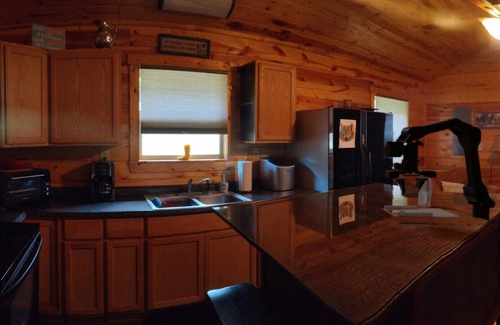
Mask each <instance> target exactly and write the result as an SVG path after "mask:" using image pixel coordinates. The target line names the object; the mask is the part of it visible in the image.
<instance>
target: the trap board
mask: <svg viewBox="0 0 500 325" xmlns="http://www.w3.org/2000/svg"><path fill="white" fill-rule="evenodd" d="M382 210H384V212H387V213H388V214H389V215H391V216H393V217H397V218H398V217H400V218H401V217H409V218H410V217H414V218H415V217H417V218H418V217H419V218H422V217H423V218H427V217H429V218H431V217H433V218H437V217H440V218H441V217H442V218H443V217H446V218H447V217H448V218H450V217H451V218H455V217H456V218H459V217H461V216H460V215H457V214H455V213H452V212H450V211H447V210H444V209H442V208H419V206H418V205H384V208H382ZM391 211H396V212H395V213H393V212H391ZM399 211H402V212H399Z"/></svg>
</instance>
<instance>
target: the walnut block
mask: <svg viewBox="0 0 500 325" xmlns="http://www.w3.org/2000/svg"><path fill="white" fill-rule="evenodd" d="M400 196H401V197H404V198H406V199H409V198H410V199H411V198H412V199H415V198H417V199H418V198H419V188H418V187H416V185H411V186H410V185H407V186H406V185H405V193H404V195H402V192H401V191H400Z"/></svg>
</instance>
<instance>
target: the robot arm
mask: <svg viewBox="0 0 500 325" xmlns="http://www.w3.org/2000/svg"><path fill="white" fill-rule="evenodd" d="M447 130H450V131H451V133H452V134H453V135H455V136H456V138H457V141H458V143H459V145H460V146H461V147H462V149H463V153H464V162H465V169H466V171H465V172H466V177H467V183H466V186H464V185H463V186H462V190H463V196H464V198H465V200H467V204H468V205H471V206H472V209H471V210H472V211H471V216H472V217H473V218H476V219H480V220H485V221H488V222H490V223H491V222H492V223H494V220H492V219H490V210H491V209H493V208H495V206H496V201H494V199H492V198H491V196H490V194H489V190H488V187H487V186H486V185H485V184H484V182H483V179H482V172H481V171H482V170H481V169H482V168H481V162H480V155H479V146H480V144H481V142H482V130H481V128H479V127H477V126H474V125H472V124H471V123H468V122H466V121H463V120H461V119H460V118H459V117H458V118H457V117H453V118H448V119H446V120H442V121H438V122H433V123H429V124H424V125H416V126H415V125H414V126H406V127H405V126H404V127H403V128H402V129H401V132H400V135H398V137H397V138H396V140H393V141H392V140H387V141H385V145H384V146H383V149H382V152H383V155H384V157H385V158H388V159H389V158H402V159H401V162H393V169H392V170H390V169H389V170H388V169H387V170H385V171H384V177H385V178H388V179H393V180H394V181H396V182H397V184H398V186H399V190H400V193H401V192H402V195H404V193H405V186H406V179H405V178H404V177H414V179H415V187H418V188H419V191H420V189H421V188H422V186H423V184H424V183H425V181H426V180H428V179H437V178H438V174H437V171H436V170H432V169H421V170H420V169H419V163H420V159H419V147H424V146H425V144H424V143H422V141H421V140H420V139H423V138H425V137H426V136H428V135H431V134H435V133H439V132H442V131H443V132H444V131H447Z"/></svg>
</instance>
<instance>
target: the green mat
mask: <svg viewBox="0 0 500 325" xmlns="http://www.w3.org/2000/svg"><path fill="white" fill-rule="evenodd" d="M396 224H397V225H399V226H400V227H430V223H427V222H396Z"/></svg>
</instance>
